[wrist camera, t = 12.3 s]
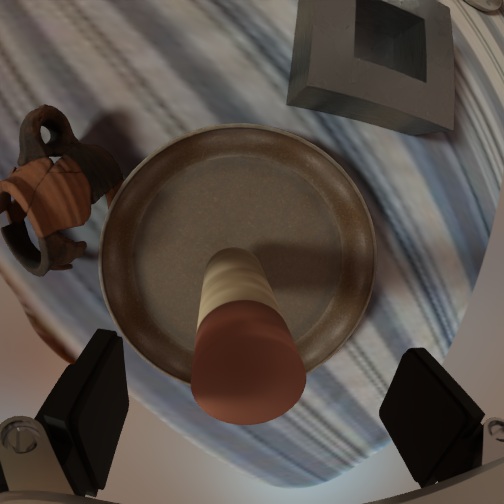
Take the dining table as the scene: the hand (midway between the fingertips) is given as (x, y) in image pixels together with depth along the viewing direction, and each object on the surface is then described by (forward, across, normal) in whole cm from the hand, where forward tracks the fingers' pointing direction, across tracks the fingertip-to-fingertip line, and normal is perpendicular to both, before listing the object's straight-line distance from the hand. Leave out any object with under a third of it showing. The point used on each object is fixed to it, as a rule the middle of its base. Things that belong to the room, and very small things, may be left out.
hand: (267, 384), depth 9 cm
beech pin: (+13, +1, +1) cm, 13 cm away
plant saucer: (+16, 0, +1) cm, 16 cm away
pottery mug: (+16, +14, -4) cm, 22 cm away
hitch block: (+16, -7, -17) cm, 25 cm away
